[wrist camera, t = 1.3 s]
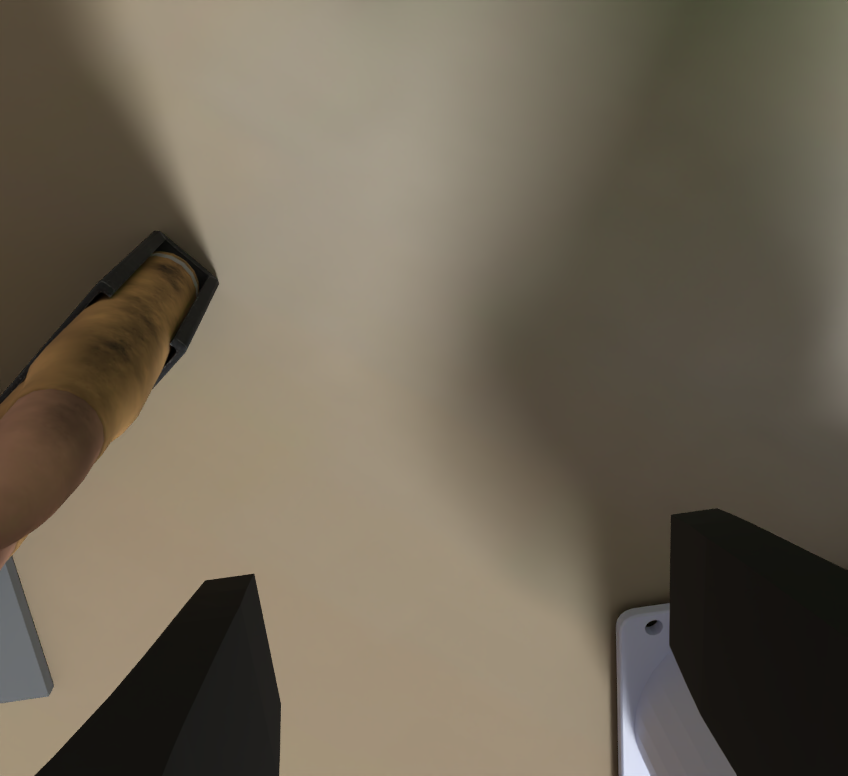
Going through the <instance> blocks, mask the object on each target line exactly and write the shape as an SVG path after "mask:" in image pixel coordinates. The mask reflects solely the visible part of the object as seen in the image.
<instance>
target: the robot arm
mask: <svg viewBox="0 0 848 776" xmlns="http://www.w3.org/2000/svg"><path fill="white" fill-rule="evenodd" d="M653 620H657V622H656V623H655V624H654V625H653V626H650V627H646V625H647V624H648V623H649V622H650V621H653ZM616 653H617V711H618V769H619V776H848V571H847V570H845V569H843V568H841V567H839V566H837V565H835V564H833V563H831V562H829V561H827V560H825V559H823V558H821V557H819V556H817V555H814V554H812V553H810V552H808V551H806V550H804V549H802V548H800V547H798V546H796V545H794V544H792V543H790V542H788V541H786V540H784V539H782V538H780V537H778V536H776V535H774V534H772V533H770V532H768V531H766V530H764V529H762V528H760V527H758V526H756V525H754V524H752V523H750V522H747V521H745V520H743V519H741V518H739V517H737V516H734V515H732V514H730V513H727V512H725V511H722V510H720V509H717V508H716V509H709V510H702V511H695V512H688V513H681V514H674V515H671V552H670V603H666V604H659V605H652V606H645V607H639V608H632V609H629V610H626V611H625V612H623V613H622V614H621V615H620V616H619V618H618V619H617V623H616ZM280 721H281V702H280V698H279V693H278V688H277V683H276V678H275V673H274V668H273V663H272V658H271V654H270V649H269V644H268V639H267V634H266V629H265V624H264V619H263V614H262V609H261V605H260V600H259V595H258V590H257V585H256V580H255V575H254V574H249V575H242V576H235V577H227V578H220V579H213V580H206V581H205V582H204V583H203V584H202V585H201V586H200V588H199V589H198V590H197V591H196V592H195V594H194V595H193V596H192V597H191V598H190V599H189V601H188V602H187V603H186V604H185V606H184V607H183V608H182V609H181V611H180V612H179V613H178V614H177V615H176V617H175V618H174V619H173V620H172V622H171V623H170V624H169V625H168V627H167V628H166V629H165V630H164V632H163V633H162V634H161V635H160V637H159V638H158V639H157V640H156V642H155V643H154V644H153V645H152V646H151V648H150V649H149V650H148V651H147V653H146V654H145V655H144V656H143V657H142V659H141V660H140V661H139V662H138V663H137V665H136V666H135V667H134V668H133V669H132V670H131V672H130V673H129V674H128V675H127V676H126V678H125V679H124V680H123V681H122V682H121V683H120V685H119V686H118V687H117V688H116V689H115V691H114V692H113V693H112V694H111V695H110V696H109V697H108V699H107V700H106V701H105V702H104V703H103V704H102V705H101V706H100V707H99V708H98V709H97V710H96V711H95V713H94V714H93V715H92V716H91V717H90V718H89V719H88V720H87V721H86V722H85V723H84V724H83V725H82V727H81V728H80V729H79V730H78V731H77V732H76V733H75V734H74V735H73V736H72V737H71V738H70V739H69V741H68V742H67V743H66V744H65V745H64V746H63V747H62V748H61V749H60V750H59V751H58V752H57V753H56V755H55V756H54V757H53V758H52V759H51V760H50V761H49V762H48V763H47V764H46V765H45V766H44V767H43V768H42V769H41V770H40V771H39V772H38V773H37V774H36V775H35V776H279V762H280Z"/></svg>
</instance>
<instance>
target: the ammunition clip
mask: <svg viewBox="0 0 848 776" xmlns="http://www.w3.org/2000/svg"><path fill="white" fill-rule="evenodd" d="M218 285H219V282H218V279H217V278H216V277H214V276H213V275H212V274H211V273H210V272H208V271H207V270H206V269H205V268H204V267H202V266H201V265H200V264H199V263H197V262H196V261H195V260H194V259H193V258H191V257H190V256H189V255H188V254H187V253H185V252H184V251H183V250H182V249H181V248H179V247H178V246H177V245H176V244H175V243H173V242H172V241H171V240H170V239H169V238H167V237H166V236H165V235H164V234H163V233H161V232H160V231H154V232H153V233H152V234H151V235H149V236H148V237H147V238H146V239H145V240H144V241H143V242H142V243H141V244H140V245H139V246H137V247H136V248H135V249H134V250H133V251H132V252H131V253H130V254H129V255H128V256H127V257H126V258H124V259H123V260H122V261H121V262H120V263H119V264H118V265H117V266H116V267H115V268H114V269H112V270H111V271H110V272H109V273H108V274H107V275H106V276H105V277H104V278H103V279H102V280H100V281H99V282H98V283H97V284H96V286H95V287H94V288H93V289H92V290H91V291H90V293H89V294H88V295H87V296H86V297H85V298H84V300H83V301H82V302H81V303H80V304H79V305H78V307H77V308H76V309H75V310H74V311H73V312H72V314H71V315H70V316H69V317H68V318H67V319H66V321H65V322H64V323H63V324H62V325H61V326H60V328H59V329H58V330H57V331H56V332H55V333H54V335H53V336H52V337H51V338H50V339H49V340H48V342H47V343H46V344H45V345H44V346H43V347H42V349H41V350H40V351H39V352H38V353H37V354H36V355H35V357H34V358H33V359H32V360H31V361H30V362H29V364H28V365H27V366H26V367H25V368H24V369H23V371H22V372H21V373H20V374H19V375H18V376H17V378H16V379H15V380H14V381H13V382H12V383H11V385H10V386H9V387H8V388H7V389H6V390H5V392H4V393H3V394H2V395H1V396H0V570H1V569H2V567H3V566H4V564H5V563H6V561H7V560H8V559H9V558H10V557H11V556H12V555H13V554H14V552H15V551H16V550H17V549H18V548H19V546H20V545H21V544H22V542H23V541H24V540H25V538H26V537H27V535H28V534H29V533H31V532H32V531H34V530H35V529H36V528H38V527H39V526H40V525H41V524H43V523H44V522H45V521H46V520H47V519H48V518H50V517H51V516H52V515H53V514H54V513H55V512H56V511H57V510H58V508H59V507H60V506H61V505H62V504H63V503H64V502H65V501H66V500H67V498H68V497H69V496H70V495H71V494H72V493H73V492H74V491H75V489H76V488H77V487H78V486H79V485H80V484H81V482H82V481H83V480H84V478H85V477H86V475H87V474H88V472H89V471H90V469H91V467H92V466H93V464H94V463H95V462H96V461H97V460H98V459H99V458H100V456H101V455H102V454H103V453H104V451H105V450H106V448H107V447H108V445H109V444H110V442H112V441H113V440H115V439H116V438H117V437H119V436H120V435H121V434H123V433H124V432H125V430H126V429H127V428H128V427H129V426H130V425H131V424H132V423H133V422H134V420H135V419H136V418H137V416H138V415H139V413H140V411H141V409H142V407H143V406H144V404H145V402H146V400H147V398H148V396H149V394H150V392H151V390H152V389H153V388H154V387H155V386H156V385H157V384H158V382H159V381H160V380H161V379H162V378H163V377H164V376H165V375H166V373H167V372H168V371H169V370H170V369H171V368H172V367H173V366H174V365H175V363H176V362H177V361H178V360H179V359H180V358H181V357H182V356H183V354H184V353H185V352H186V350H187V348H188V346H189V344H190V342H191V340H192V338H193V336H194V334H195V332H196V330H197V328H198V326H199V324H200V322H201V320H202V318H203V316H204V314H205V312H206V310H207V307H208V305H209V303H210V301H211V299H212V297H213V295H214V293H215V291H216V289H217V287H218Z"/></svg>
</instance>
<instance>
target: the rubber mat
mask: <svg viewBox="0 0 848 776" xmlns="http://www.w3.org/2000/svg"><path fill="white" fill-rule="evenodd" d="M53 687H54V685H53V682H52V679H51V676H50V673H49V670H48V666H47V663H46V660H45V657H44V654H43V651H42V648H41V645H40V642H39V639H38V636H37V632H36V629H35V626H34V623H33V620H32V617H31V614H30V611H29V608H28V605H27V602H26V599H25V595H24V592H23V589H22V586H21V583H20V580H19V577H18V574H17V571H16V568H15V565H14V561H13V558H12V556H11V557H10V558H9V559H8V560H7V561H6V563H5V564H4V566H3V567H2V569H1V570H0V703H6V702H13V701H20V700H26V699H33V698H40V697H47V696H49V695H50V693H51V691H52V689H53Z"/></svg>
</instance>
